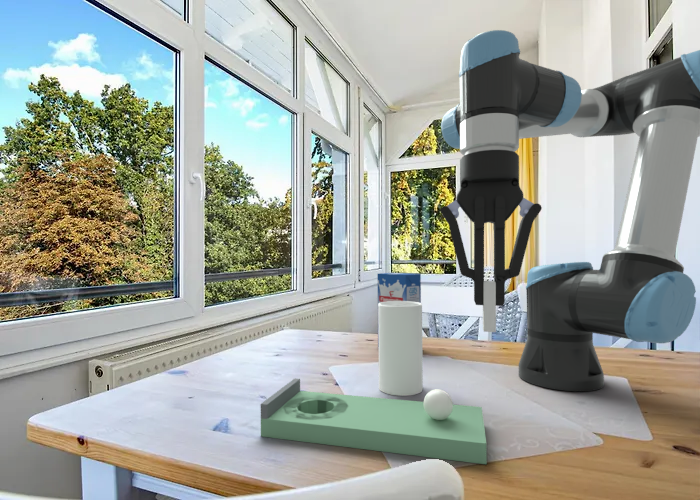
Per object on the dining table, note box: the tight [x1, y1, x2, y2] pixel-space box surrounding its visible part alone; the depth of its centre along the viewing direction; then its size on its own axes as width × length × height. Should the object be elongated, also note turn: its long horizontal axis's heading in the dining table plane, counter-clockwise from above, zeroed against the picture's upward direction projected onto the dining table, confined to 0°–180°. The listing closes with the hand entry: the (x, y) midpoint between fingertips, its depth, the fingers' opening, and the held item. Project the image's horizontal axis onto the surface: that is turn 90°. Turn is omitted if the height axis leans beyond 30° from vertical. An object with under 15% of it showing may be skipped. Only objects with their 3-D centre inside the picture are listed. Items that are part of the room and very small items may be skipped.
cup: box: [377, 301, 424, 397], centre depth 77 cm, size 8×8×16 cm
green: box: [260, 378, 488, 465], centre depth 59 cm, size 30×12×4 cm, turn 75°
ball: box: [423, 388, 454, 420], centre depth 56 cm, size 4×4×4 cm
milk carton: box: [377, 272, 422, 348], centre depth 109 cm, size 10×6×20 cm, turn 43°
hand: (489, 329), depth 54 cm, fingers closed
